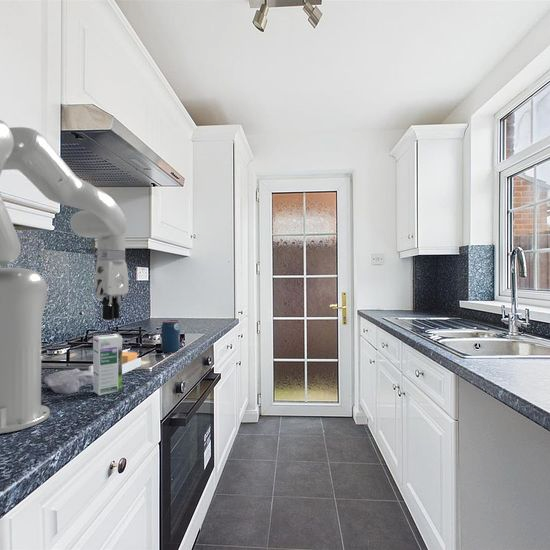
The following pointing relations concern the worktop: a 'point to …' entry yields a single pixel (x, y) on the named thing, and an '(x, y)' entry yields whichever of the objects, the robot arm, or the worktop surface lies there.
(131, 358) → the orange block
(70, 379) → the stone block
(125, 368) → the channel walls
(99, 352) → the syrup box
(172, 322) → the soda can
